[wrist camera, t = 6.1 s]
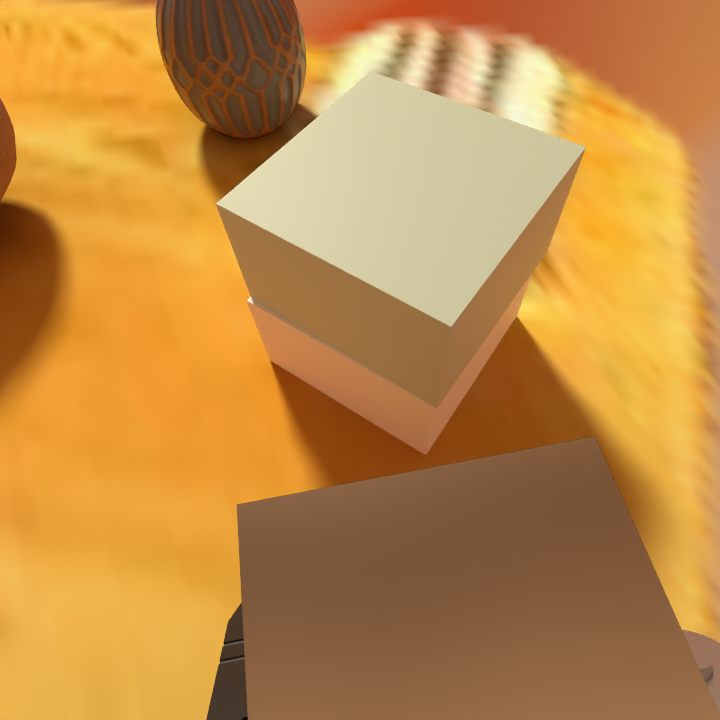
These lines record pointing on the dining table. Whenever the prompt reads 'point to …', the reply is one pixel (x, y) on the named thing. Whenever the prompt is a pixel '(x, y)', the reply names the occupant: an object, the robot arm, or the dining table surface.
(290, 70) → the vase
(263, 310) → the tower base
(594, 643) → the column
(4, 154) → the onion
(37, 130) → the dining table surface
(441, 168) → the tower mid
